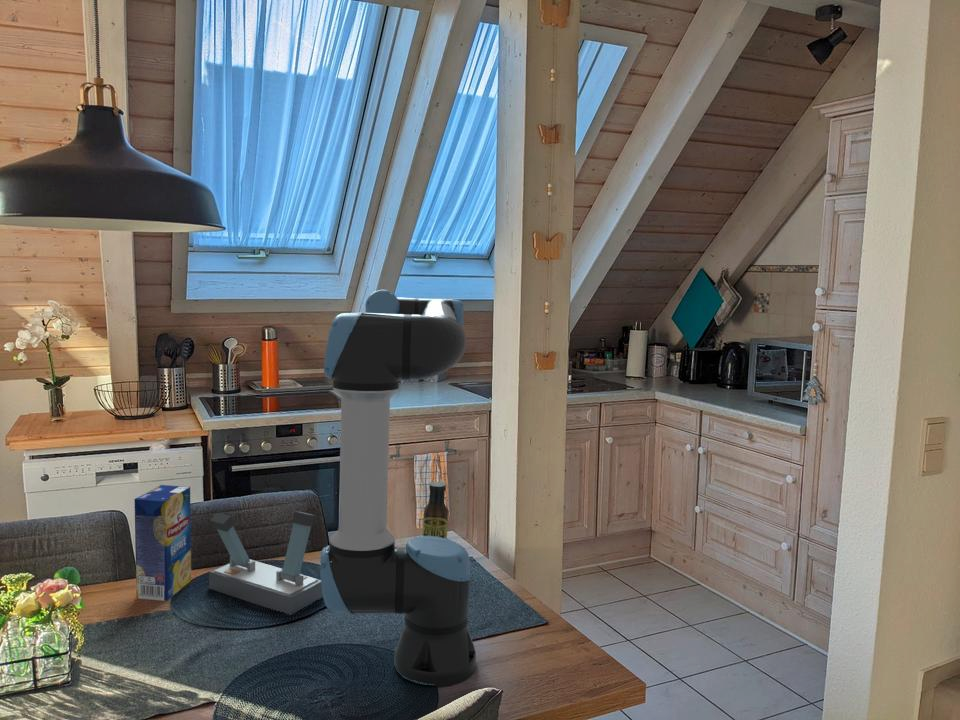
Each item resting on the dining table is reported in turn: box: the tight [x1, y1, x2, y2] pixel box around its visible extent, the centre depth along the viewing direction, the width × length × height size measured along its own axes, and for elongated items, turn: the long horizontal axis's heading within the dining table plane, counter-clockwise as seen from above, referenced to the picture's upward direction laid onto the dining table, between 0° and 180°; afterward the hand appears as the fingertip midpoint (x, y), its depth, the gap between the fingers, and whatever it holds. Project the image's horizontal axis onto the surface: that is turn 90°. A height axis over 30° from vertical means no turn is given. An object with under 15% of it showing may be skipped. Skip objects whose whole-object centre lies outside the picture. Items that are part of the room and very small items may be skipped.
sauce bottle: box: [421, 481, 449, 539], centre depth 190 cm, size 6×6×20 cm
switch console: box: [208, 556, 323, 616], centre depth 169 cm, size 24×10×6 cm, turn 61°
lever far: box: [209, 512, 250, 568], centre depth 168 cm, size 4×2×14 cm, turn 61°
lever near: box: [281, 511, 316, 582], centre depth 166 cm, size 4×2×14 cm, turn 61°
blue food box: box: [133, 484, 192, 602], centre depth 168 cm, size 7×11×22 cm, turn 173°
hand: (349, 464), depth 171 cm, fingers closed
